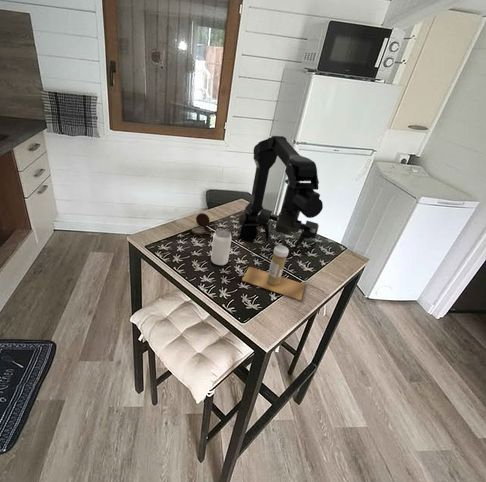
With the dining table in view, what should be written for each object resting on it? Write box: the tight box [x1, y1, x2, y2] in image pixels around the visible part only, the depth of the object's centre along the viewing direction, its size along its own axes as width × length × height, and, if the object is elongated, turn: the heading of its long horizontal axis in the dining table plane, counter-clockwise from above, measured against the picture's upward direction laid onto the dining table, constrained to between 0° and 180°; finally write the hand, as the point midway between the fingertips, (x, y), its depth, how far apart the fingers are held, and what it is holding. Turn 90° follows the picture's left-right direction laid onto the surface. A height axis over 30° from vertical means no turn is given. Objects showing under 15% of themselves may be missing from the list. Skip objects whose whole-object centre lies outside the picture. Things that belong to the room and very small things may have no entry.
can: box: [210, 228, 233, 266], centre depth 101 cm, size 6×6×12 cm
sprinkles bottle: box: [267, 244, 290, 285], centre depth 92 cm, size 5×5×14 cm
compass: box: [190, 212, 210, 236], centre depth 119 cm, size 8×8×7 cm
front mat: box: [241, 266, 306, 302], centre depth 96 cm, size 20×9×1 cm, turn 67°
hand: (280, 245), depth 93 cm, fingers open, 9 cm apart
